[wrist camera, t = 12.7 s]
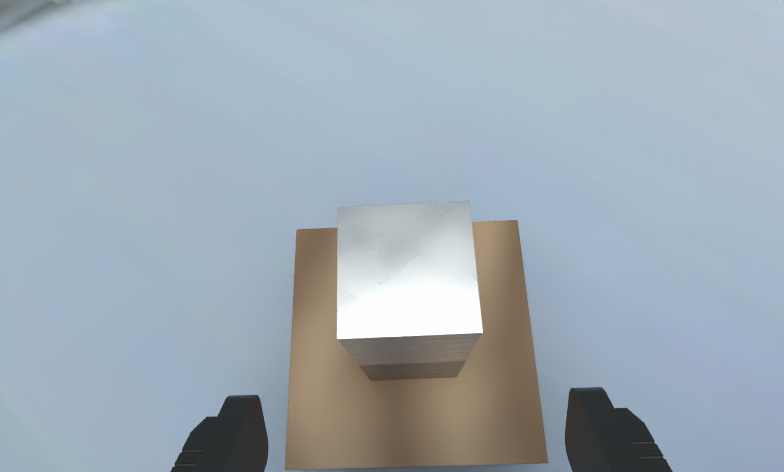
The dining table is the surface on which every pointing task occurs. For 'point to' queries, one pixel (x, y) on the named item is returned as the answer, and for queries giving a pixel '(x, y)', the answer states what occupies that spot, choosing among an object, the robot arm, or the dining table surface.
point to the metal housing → (407, 289)
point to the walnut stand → (414, 396)
